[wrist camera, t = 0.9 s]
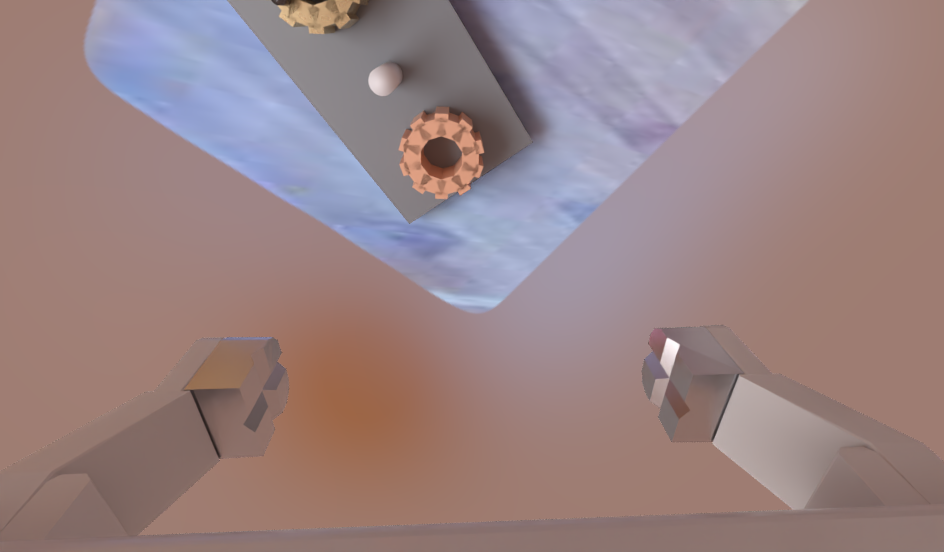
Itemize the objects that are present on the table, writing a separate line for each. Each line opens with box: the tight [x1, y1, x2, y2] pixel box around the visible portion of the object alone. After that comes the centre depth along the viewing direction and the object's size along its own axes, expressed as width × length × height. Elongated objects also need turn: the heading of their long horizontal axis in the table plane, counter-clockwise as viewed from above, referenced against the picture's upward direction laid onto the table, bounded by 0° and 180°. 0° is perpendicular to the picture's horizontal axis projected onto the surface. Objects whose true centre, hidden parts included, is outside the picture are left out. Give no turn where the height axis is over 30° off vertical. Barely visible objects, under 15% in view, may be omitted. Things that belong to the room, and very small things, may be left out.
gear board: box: [227, 0, 533, 224], centre depth 33 cm, size 13×22×6 cm, turn 34°
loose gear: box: [399, 107, 484, 199], centre depth 35 cm, size 7×7×3 cm
